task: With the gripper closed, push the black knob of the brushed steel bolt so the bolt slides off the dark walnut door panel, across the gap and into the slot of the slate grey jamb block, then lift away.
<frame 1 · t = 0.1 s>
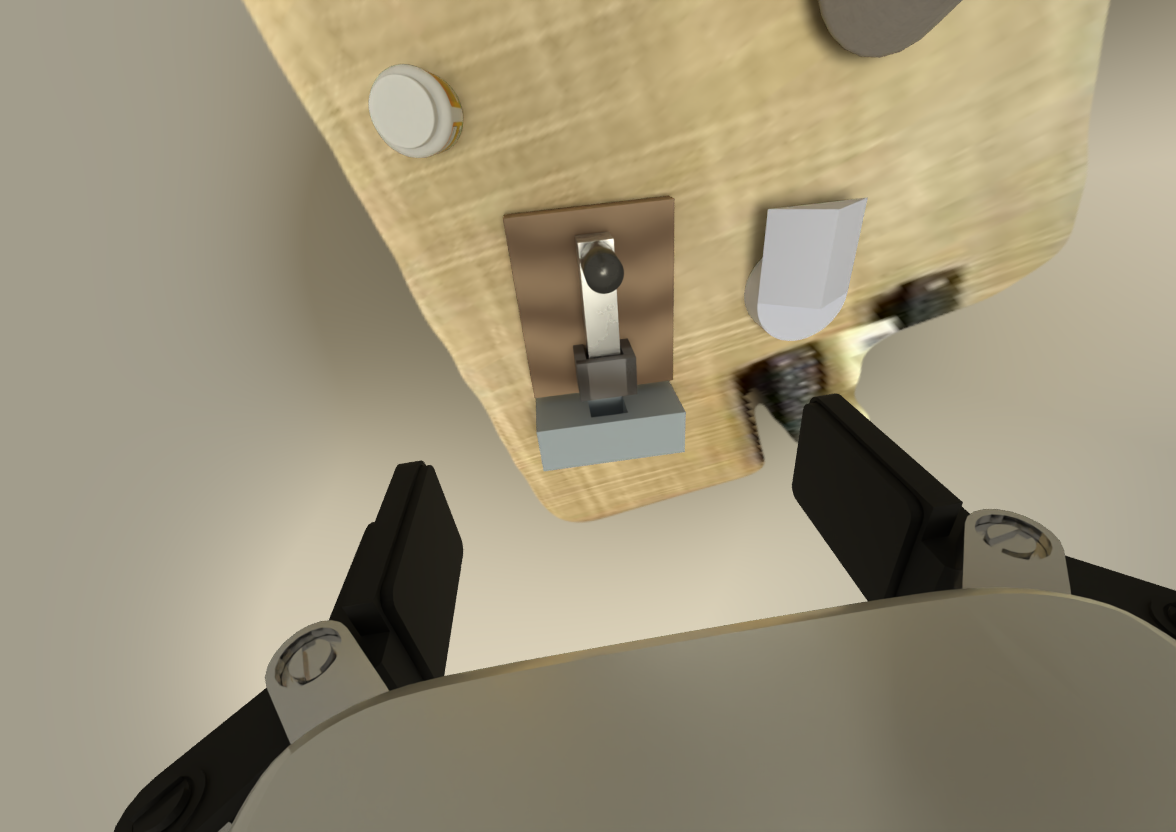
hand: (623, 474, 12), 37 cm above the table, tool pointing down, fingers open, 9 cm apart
jamb: (608, 423, 51), on the table
wedge on round base: (788, 267, 48), on the table
supplement bottle: (429, 114, 38), on the table
bolt: (602, 313, 41), point 6 cm above the table, slide at 0.0 cm
door panel: (597, 329, 49), on the table
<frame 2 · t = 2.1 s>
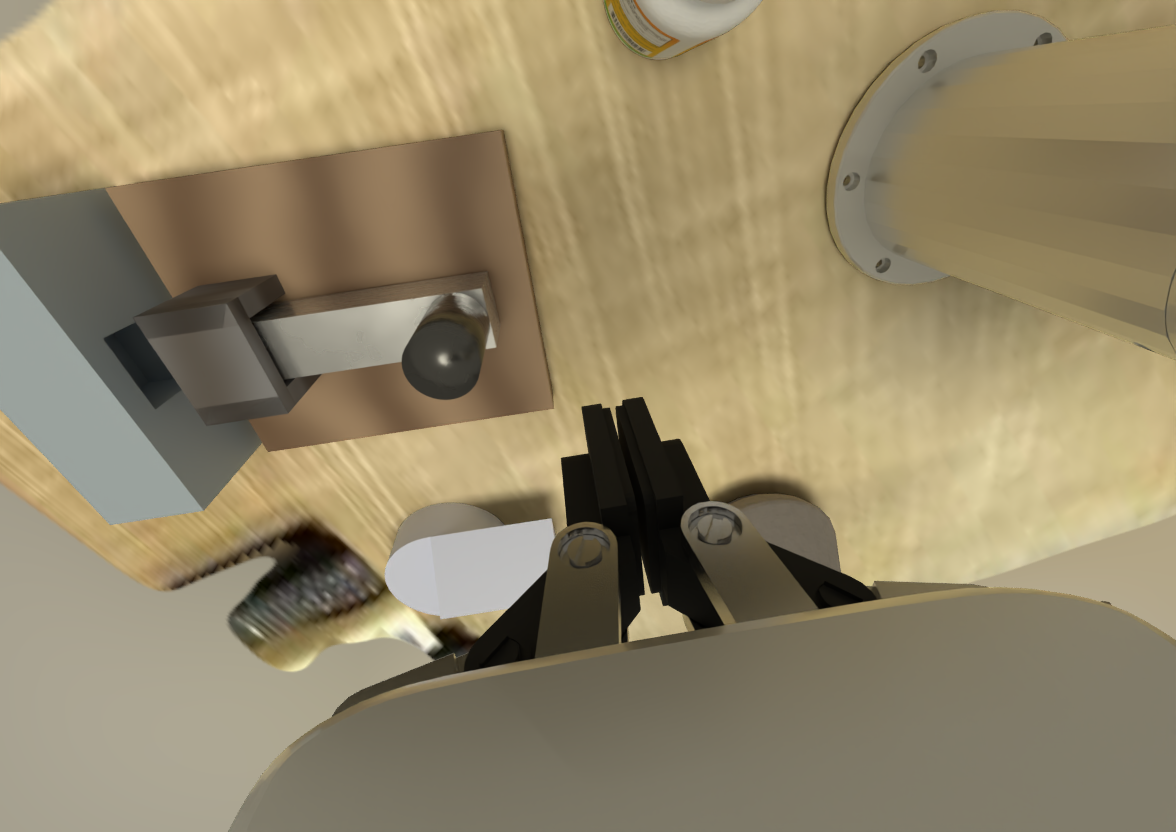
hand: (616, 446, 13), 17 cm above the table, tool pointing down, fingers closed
jamb: (113, 363, 24), on the table
wedge on round base: (480, 538, 38), on the table
bolt: (359, 344, 22), point 6 cm above the table, slide at 0.0 cm
coffee pot: (805, 506, 39), on the table
door panel: (324, 311, 27), on the table
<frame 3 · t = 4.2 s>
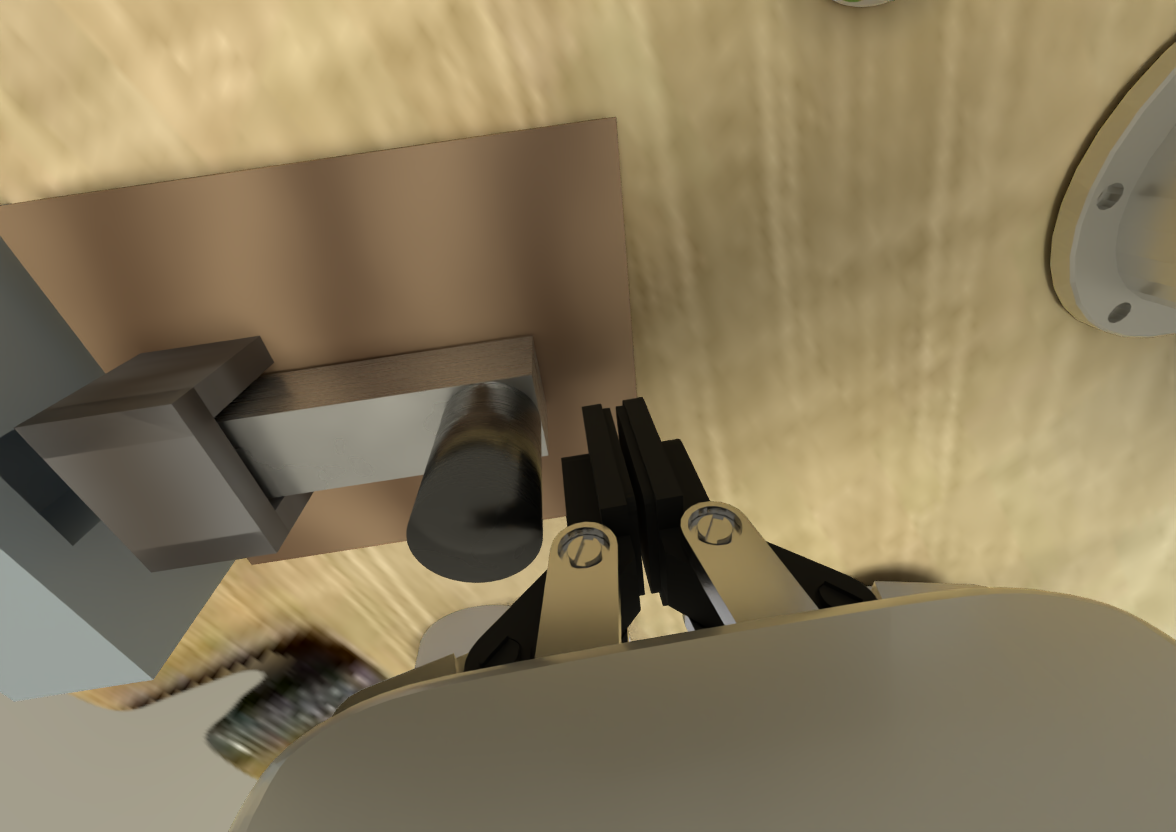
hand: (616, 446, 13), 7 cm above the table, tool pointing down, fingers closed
jamb: (13, 469, 16), on the table
wedge on round base: (524, 641, 30), on the table
bolt: (338, 463, 14), point 6 cm above the table, slide at 1.5 cm, touching gripper
door panel: (331, 378, 19), on the table
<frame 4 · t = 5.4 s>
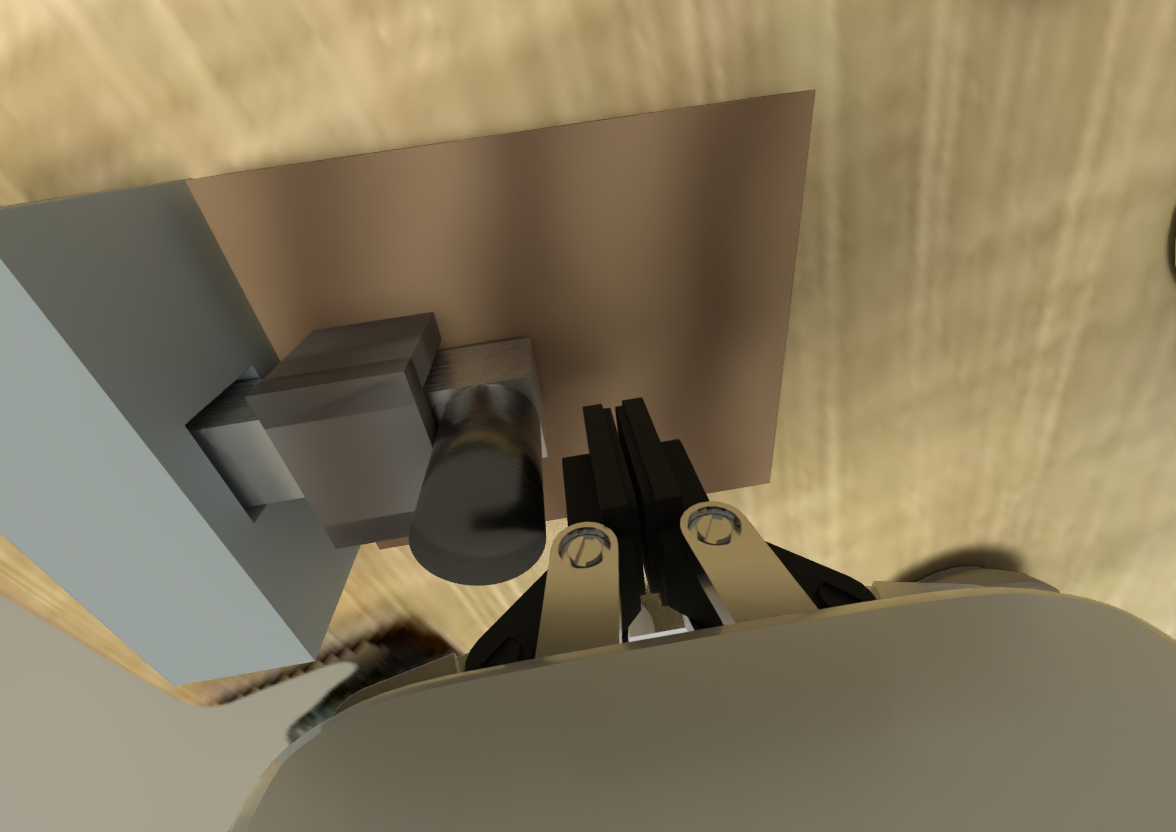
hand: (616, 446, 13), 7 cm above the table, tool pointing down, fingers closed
jamb: (182, 448, 16), on the table
wedge on round base: (614, 628, 30), on the table
bolt: (335, 467, 14), point 6 cm above the table, slide at 7.5 cm, touching gripper
coffee pot: (1008, 576, 32), on the table
door panel: (474, 359, 19), on the table
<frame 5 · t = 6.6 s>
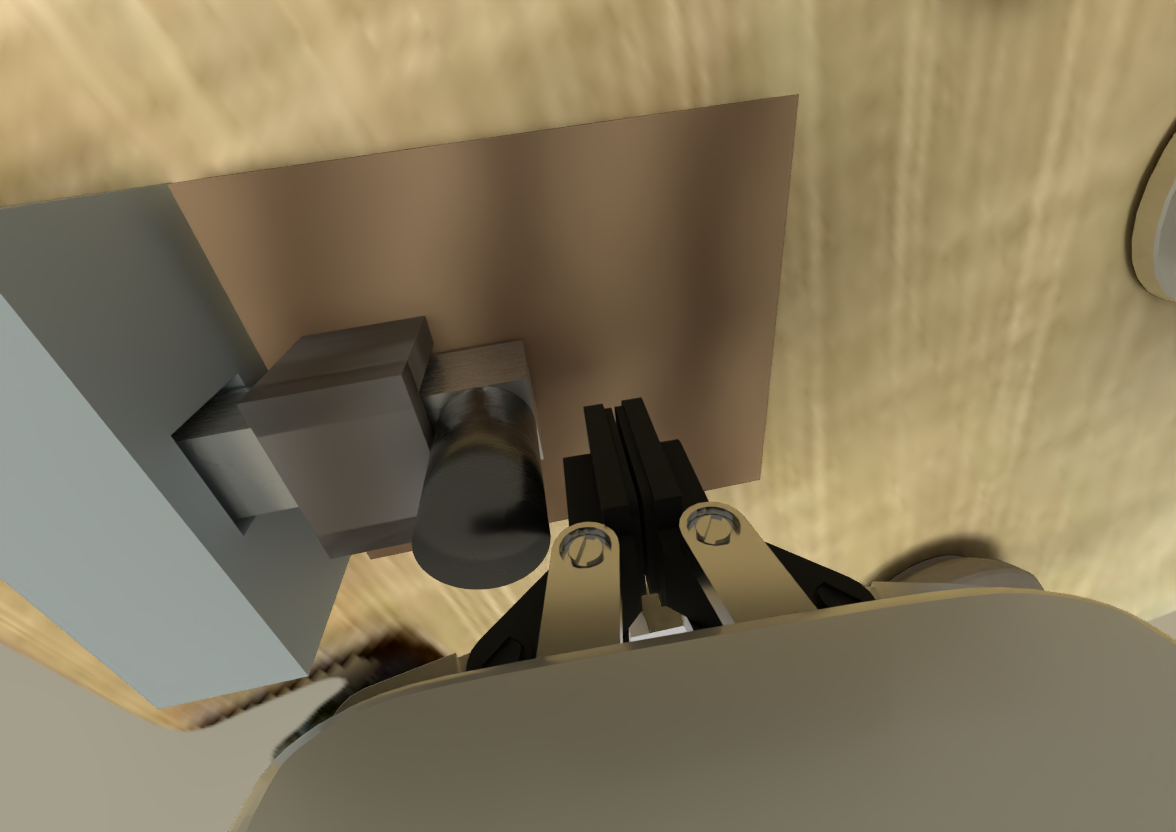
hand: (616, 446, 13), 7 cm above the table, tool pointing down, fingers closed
jamb: (164, 460, 15), on the table
wedge on round base: (608, 631, 30), on the table
bolt: (329, 475, 13), point 6 cm above the table, slide at 7.5 cm, touching door panel, gripper
coffee pot: (986, 564, 33), on the table
door panel: (465, 363, 19), on the table
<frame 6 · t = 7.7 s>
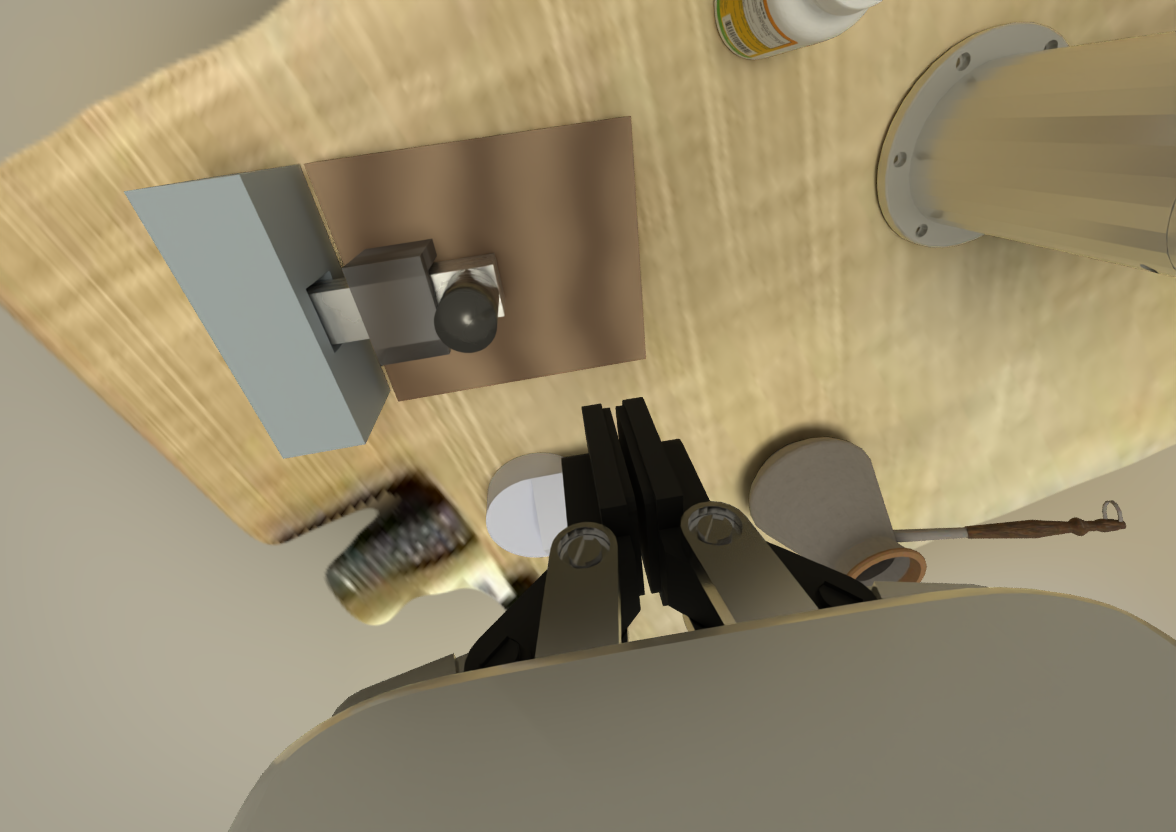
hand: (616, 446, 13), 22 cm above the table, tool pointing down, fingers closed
jamb: (291, 316, 28), on the table
wedge on round base: (560, 487, 42), on the table
supplement bottle: (757, 0, 26), on the table
bolt: (390, 313, 26), point 6 cm above the table, slide at 7.0 cm
coffee pot: (843, 452, 45), on the table
door panel: (456, 275, 31), on the table
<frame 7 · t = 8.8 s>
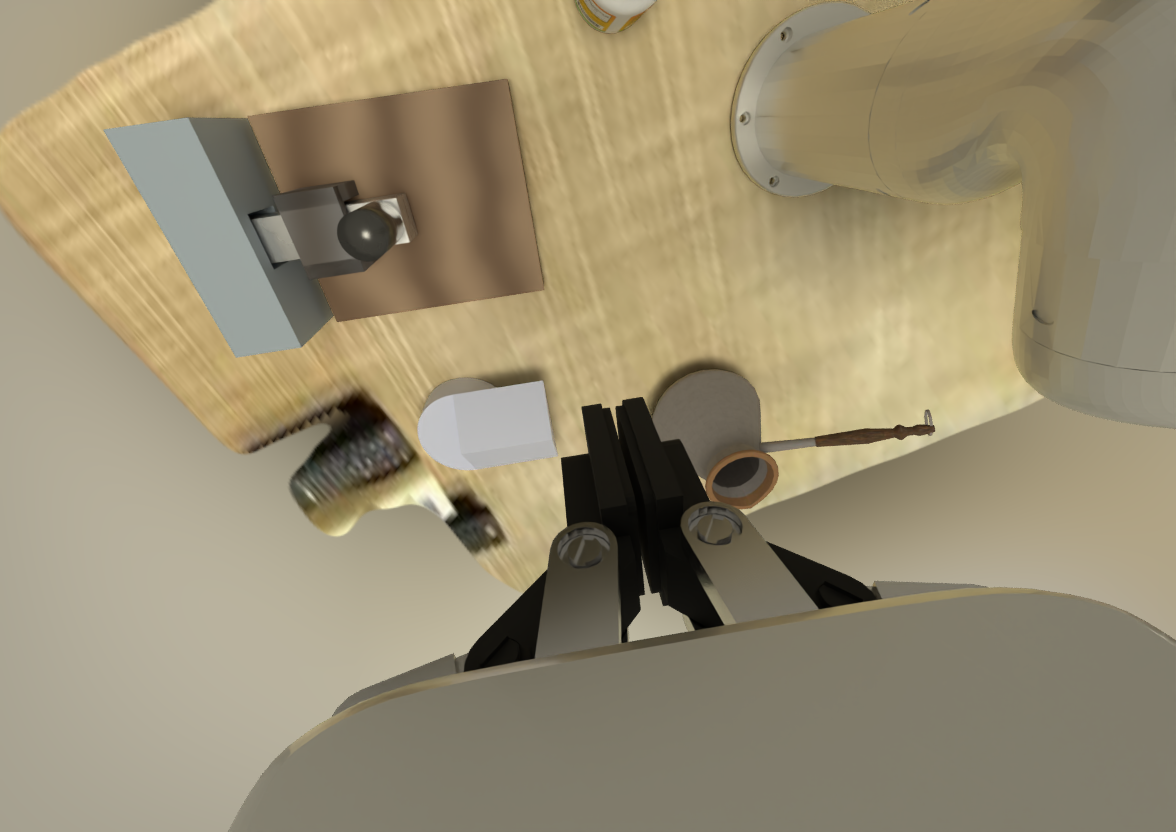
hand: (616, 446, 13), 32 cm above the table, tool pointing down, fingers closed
jamb: (241, 241, 35), on the table
wedge on round base: (488, 411, 49), on the table
bolt: (314, 235, 33), point 6 cm above the table, slide at 7.0 cm
coffee pot: (740, 387, 51), on the table
door panel: (381, 214, 38), on the table
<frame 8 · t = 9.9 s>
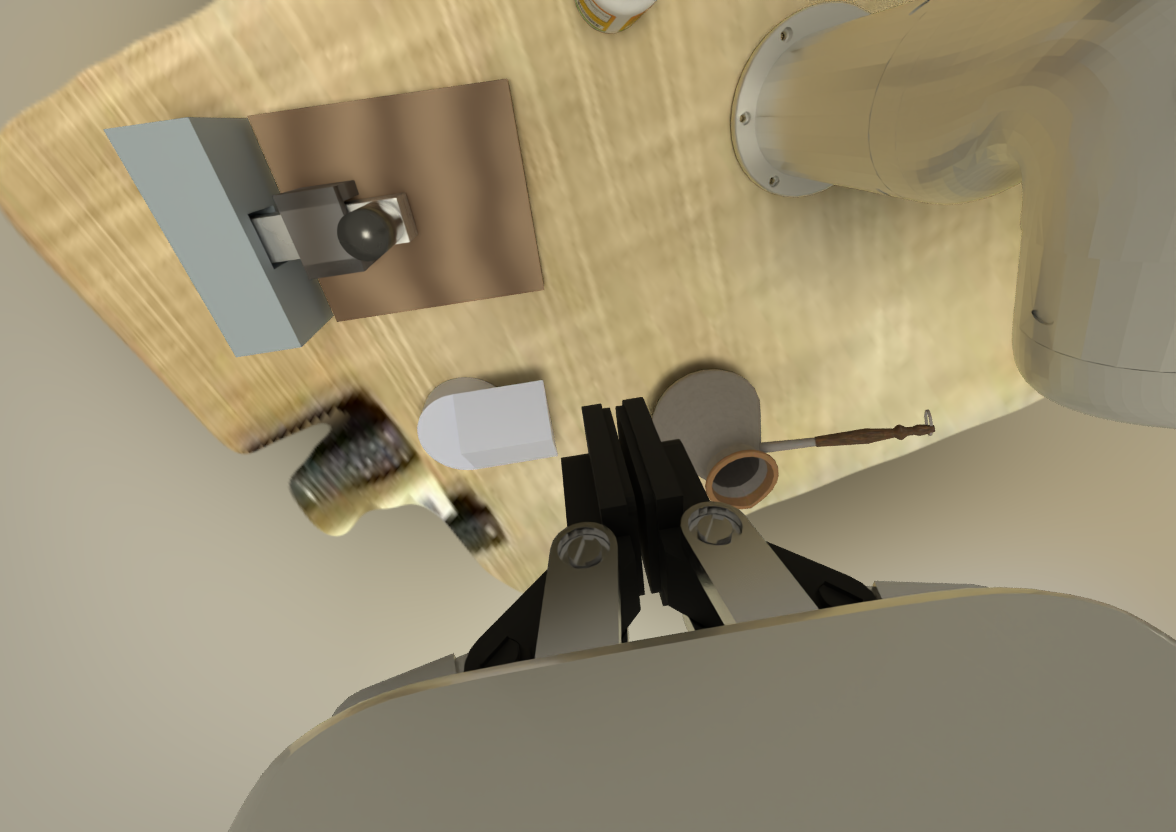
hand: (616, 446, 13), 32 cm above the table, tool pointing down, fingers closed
jamb: (241, 241, 35), on the table
wedge on round base: (488, 411, 49), on the table
bolt: (314, 235, 33), point 6 cm above the table, slide at 7.0 cm
coffee pot: (740, 387, 51), on the table
door panel: (381, 214, 38), on the table
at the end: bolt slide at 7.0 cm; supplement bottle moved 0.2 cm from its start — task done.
